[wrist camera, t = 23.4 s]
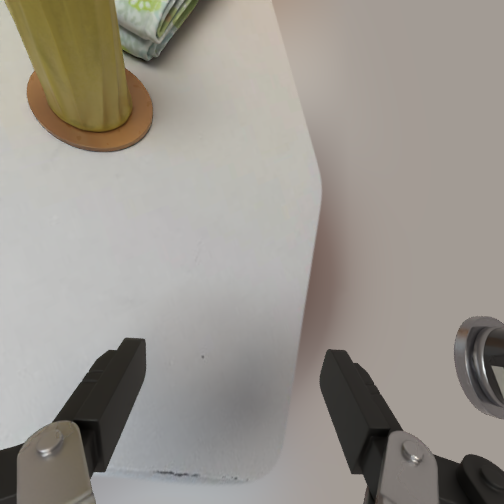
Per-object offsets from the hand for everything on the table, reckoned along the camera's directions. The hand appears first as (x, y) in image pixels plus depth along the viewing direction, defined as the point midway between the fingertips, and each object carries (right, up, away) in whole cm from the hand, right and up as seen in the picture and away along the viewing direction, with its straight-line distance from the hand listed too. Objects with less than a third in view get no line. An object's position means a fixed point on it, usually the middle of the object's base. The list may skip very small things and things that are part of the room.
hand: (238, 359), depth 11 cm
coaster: (-13, +17, +10) cm, 24 cm away
